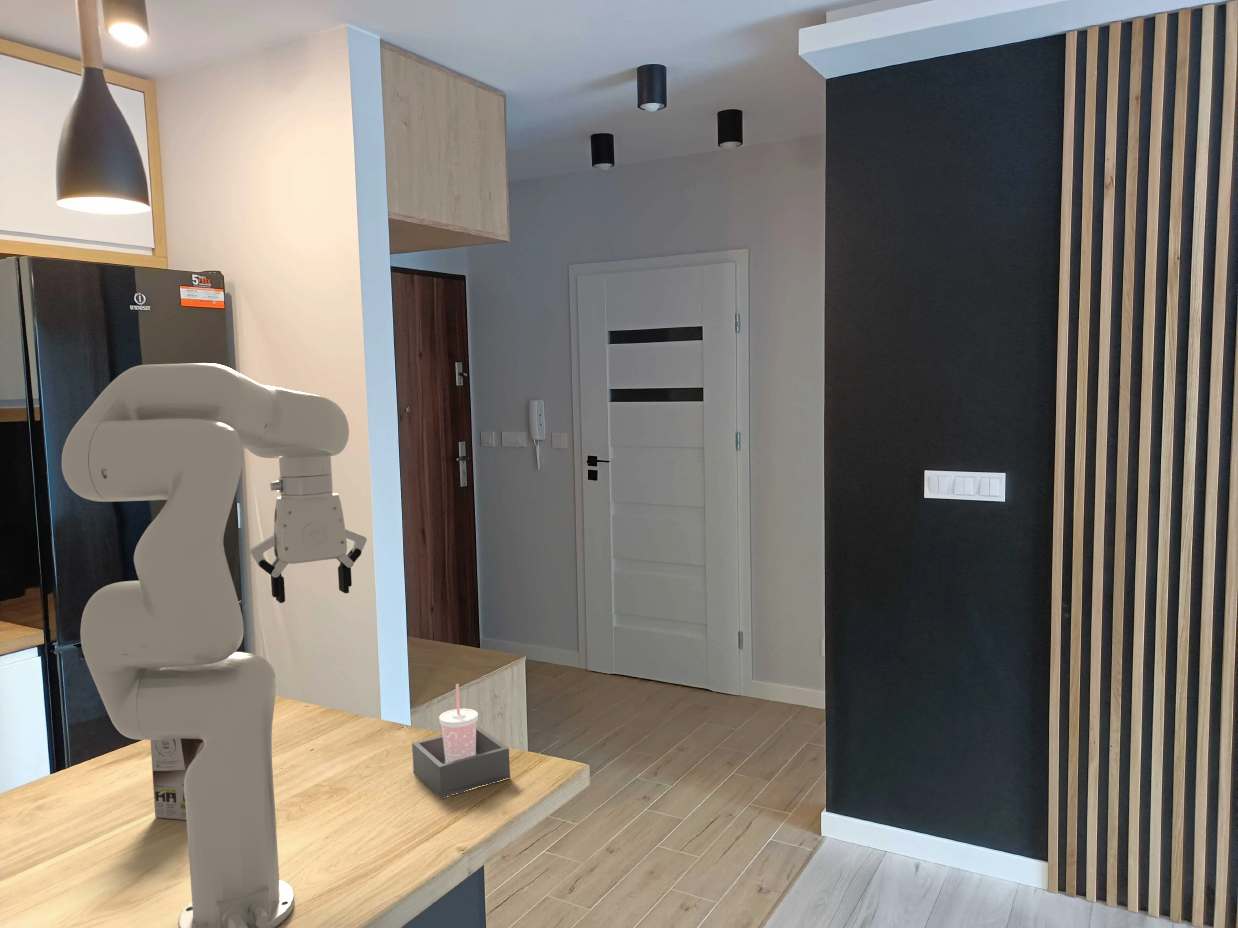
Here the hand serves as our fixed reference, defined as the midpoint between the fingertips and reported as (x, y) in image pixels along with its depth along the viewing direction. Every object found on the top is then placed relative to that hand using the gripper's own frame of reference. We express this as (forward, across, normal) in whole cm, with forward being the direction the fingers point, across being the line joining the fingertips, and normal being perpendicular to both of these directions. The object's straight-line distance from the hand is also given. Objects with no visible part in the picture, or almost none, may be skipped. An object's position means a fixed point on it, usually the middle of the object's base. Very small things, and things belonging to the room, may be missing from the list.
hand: (312, 596), depth 137 cm
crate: (+30, +19, -10) cm, 37 cm away
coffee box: (+31, -18, +5) cm, 36 cm away
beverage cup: (+30, +19, -10) cm, 37 cm away
